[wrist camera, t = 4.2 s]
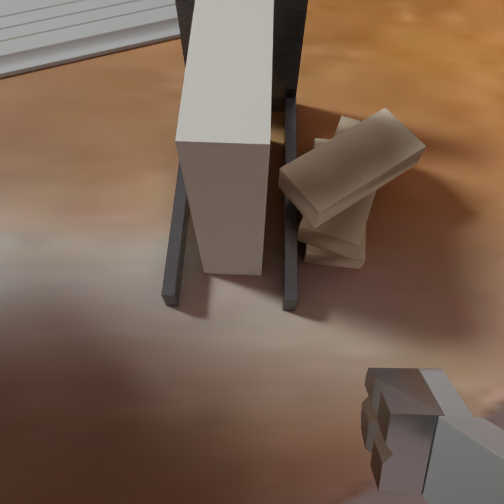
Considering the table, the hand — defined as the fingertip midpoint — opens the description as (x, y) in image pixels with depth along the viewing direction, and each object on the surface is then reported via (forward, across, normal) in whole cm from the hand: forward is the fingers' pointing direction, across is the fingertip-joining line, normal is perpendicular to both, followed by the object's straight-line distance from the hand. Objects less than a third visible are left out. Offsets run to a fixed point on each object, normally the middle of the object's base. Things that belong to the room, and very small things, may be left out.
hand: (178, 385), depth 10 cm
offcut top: (+23, -8, -1) cm, 24 cm away
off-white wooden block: (+25, 0, +2) cm, 25 cm away
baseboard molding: (+40, +11, -12) cm, 44 cm away
